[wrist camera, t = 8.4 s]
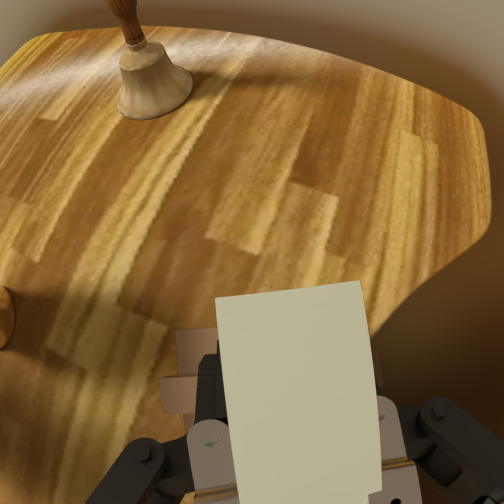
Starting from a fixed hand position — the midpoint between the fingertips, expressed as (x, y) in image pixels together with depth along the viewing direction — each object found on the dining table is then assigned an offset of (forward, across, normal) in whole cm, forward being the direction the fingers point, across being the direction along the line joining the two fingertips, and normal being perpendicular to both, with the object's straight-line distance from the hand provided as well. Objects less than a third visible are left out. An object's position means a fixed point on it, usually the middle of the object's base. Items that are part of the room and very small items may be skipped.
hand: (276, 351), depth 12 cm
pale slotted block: (+2, 0, +5) cm, 5 cm away
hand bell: (+25, +8, -11) cm, 29 cm away
